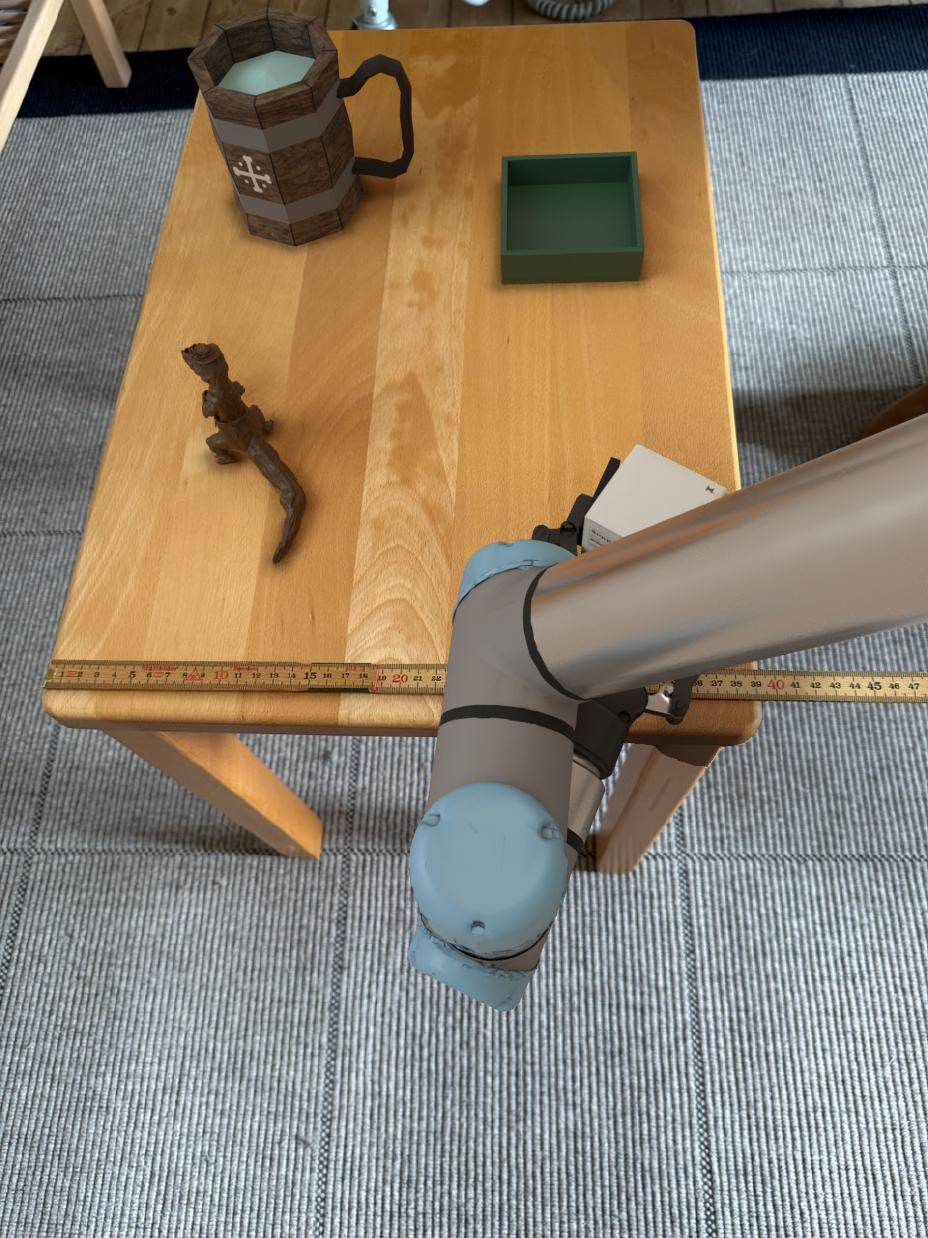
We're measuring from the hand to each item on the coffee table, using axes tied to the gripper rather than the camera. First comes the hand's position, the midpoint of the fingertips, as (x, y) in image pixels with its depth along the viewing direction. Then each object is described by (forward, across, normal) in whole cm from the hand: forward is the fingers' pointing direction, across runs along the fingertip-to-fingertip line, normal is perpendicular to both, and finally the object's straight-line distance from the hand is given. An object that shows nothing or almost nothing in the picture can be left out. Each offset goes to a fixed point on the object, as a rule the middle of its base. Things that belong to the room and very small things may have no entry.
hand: (669, 487), depth 66 cm
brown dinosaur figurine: (-9, -34, -8) cm, 35 cm away
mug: (+25, -44, -8) cm, 52 cm away
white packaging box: (-5, 0, -8) cm, 9 cm away
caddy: (+29, -19, -8) cm, 36 cm away
